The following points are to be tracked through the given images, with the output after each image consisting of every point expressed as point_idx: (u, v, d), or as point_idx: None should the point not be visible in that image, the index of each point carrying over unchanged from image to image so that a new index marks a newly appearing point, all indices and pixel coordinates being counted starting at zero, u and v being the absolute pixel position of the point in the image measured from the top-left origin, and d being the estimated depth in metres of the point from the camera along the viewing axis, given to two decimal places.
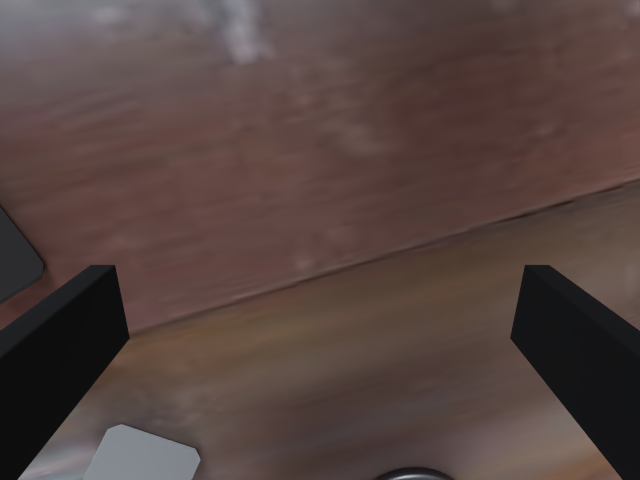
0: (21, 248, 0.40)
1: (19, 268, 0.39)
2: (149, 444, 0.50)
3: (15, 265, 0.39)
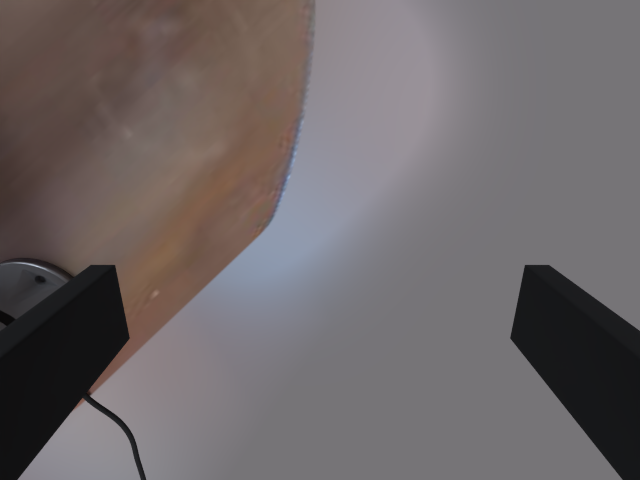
0: None
1: None
2: None
3: None
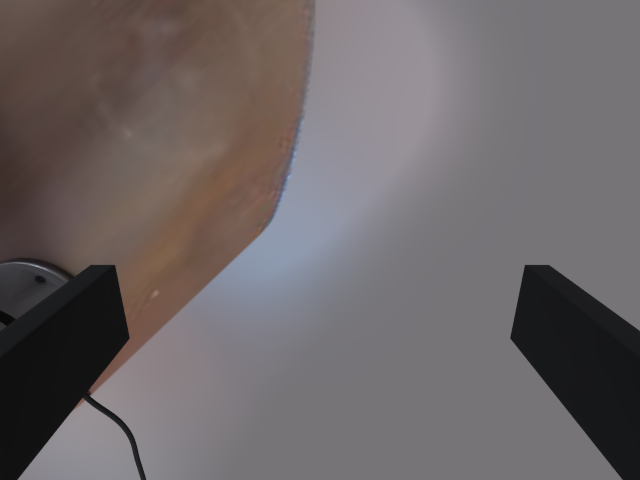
0: None
1: None
2: None
3: None
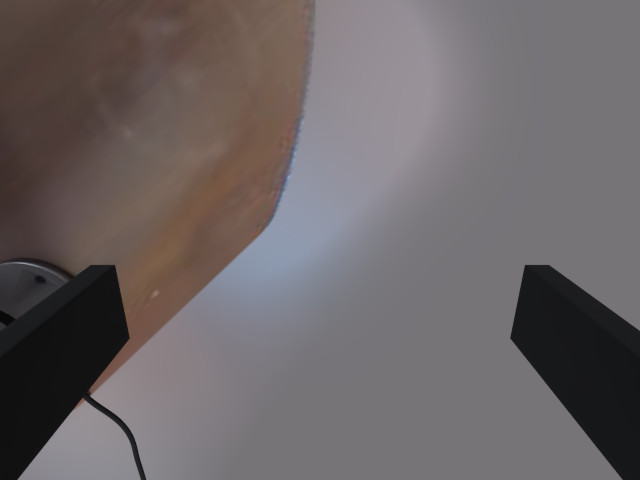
0: None
1: None
2: None
3: None
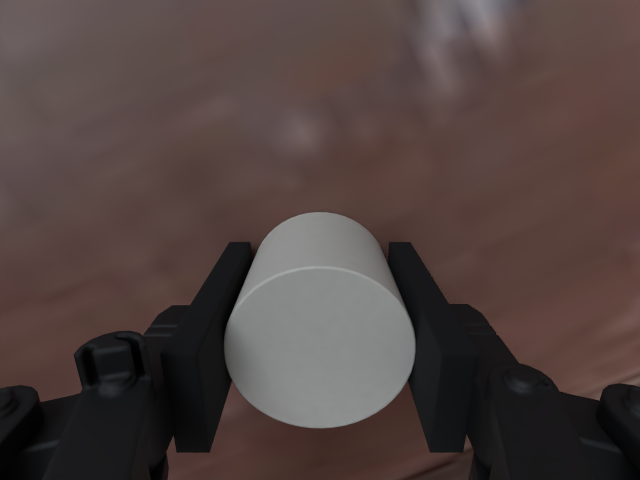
0: None
1: None
2: None
3: None
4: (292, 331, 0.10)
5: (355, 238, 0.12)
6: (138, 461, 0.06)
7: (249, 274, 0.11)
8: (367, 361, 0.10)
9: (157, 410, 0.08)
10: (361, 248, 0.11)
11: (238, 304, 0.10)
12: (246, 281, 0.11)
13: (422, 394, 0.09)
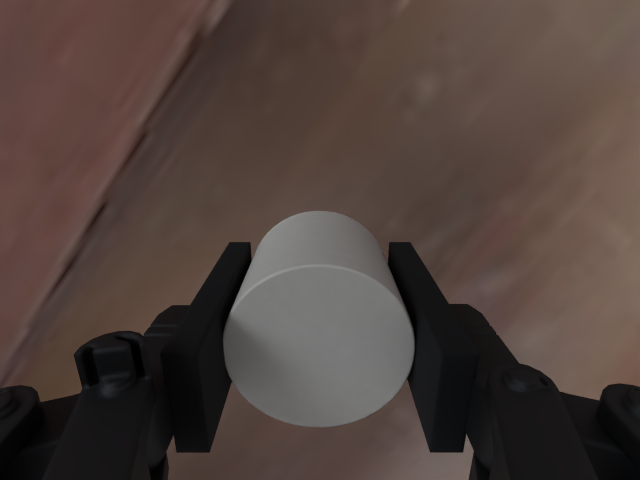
0: None
1: None
2: None
3: None
4: (291, 329, 0.10)
5: (354, 236, 0.12)
6: (138, 461, 0.06)
7: (248, 273, 0.11)
8: (365, 361, 0.10)
9: (157, 410, 0.08)
10: (360, 247, 0.11)
11: (237, 303, 0.10)
12: (245, 280, 0.11)
13: (422, 394, 0.09)
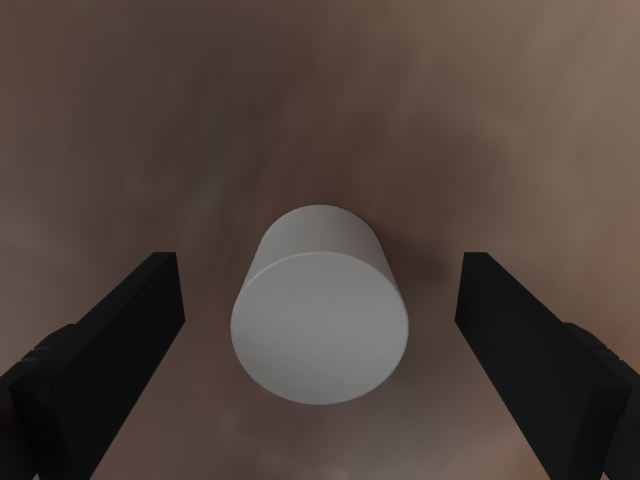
0: None
1: None
2: None
3: None
4: (294, 312, 0.11)
5: (353, 228, 0.13)
6: None
7: (254, 261, 0.12)
8: (363, 342, 0.11)
9: None
10: (358, 238, 0.12)
11: (244, 287, 0.10)
12: (251, 268, 0.12)
13: (540, 425, 0.09)
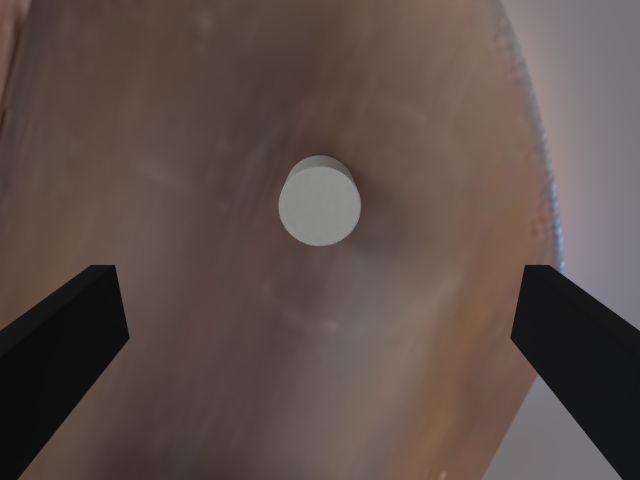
0: None
1: None
2: None
3: None
4: (308, 196, 0.23)
5: (336, 163, 0.25)
6: None
7: (287, 178, 0.25)
8: (340, 211, 0.24)
9: None
10: (338, 166, 0.25)
11: (286, 183, 0.23)
12: (287, 180, 0.25)
13: None
